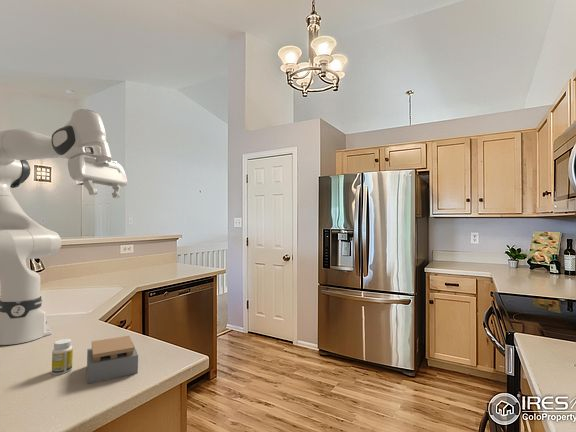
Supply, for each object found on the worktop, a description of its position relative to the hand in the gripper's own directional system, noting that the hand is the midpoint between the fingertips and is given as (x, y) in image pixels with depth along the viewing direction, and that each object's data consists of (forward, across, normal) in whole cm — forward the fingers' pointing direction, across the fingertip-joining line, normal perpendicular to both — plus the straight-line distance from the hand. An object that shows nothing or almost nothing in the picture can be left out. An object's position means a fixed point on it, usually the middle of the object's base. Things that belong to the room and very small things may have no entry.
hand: (105, 196), depth 106 cm
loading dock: (+52, +8, -5) cm, 53 cm away
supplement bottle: (+48, +12, -17) cm, 53 cm away
